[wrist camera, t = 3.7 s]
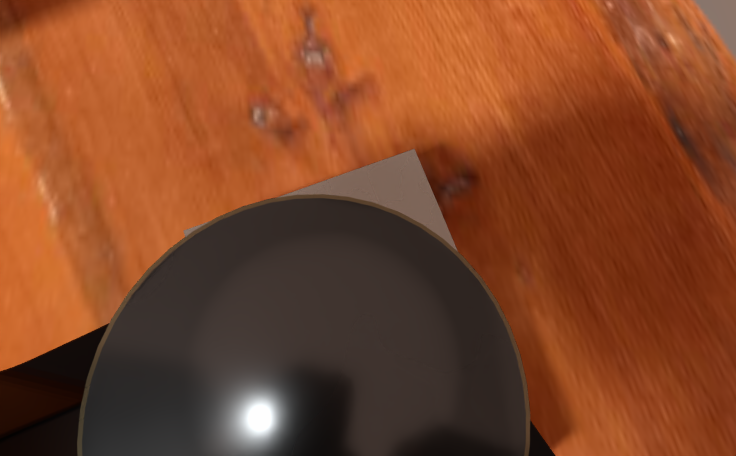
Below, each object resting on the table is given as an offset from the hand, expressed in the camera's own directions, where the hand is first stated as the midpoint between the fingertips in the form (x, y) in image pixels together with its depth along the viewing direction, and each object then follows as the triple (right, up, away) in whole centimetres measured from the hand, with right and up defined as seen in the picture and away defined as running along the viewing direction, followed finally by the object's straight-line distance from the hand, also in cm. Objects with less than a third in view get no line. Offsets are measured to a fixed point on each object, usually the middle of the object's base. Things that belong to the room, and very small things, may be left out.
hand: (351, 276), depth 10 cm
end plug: (-1, -2, +6) cm, 7 cm away
